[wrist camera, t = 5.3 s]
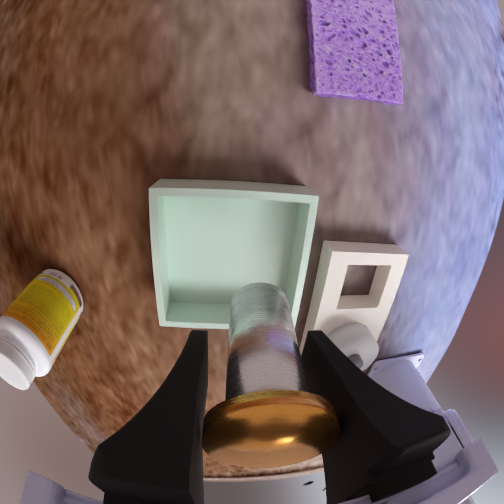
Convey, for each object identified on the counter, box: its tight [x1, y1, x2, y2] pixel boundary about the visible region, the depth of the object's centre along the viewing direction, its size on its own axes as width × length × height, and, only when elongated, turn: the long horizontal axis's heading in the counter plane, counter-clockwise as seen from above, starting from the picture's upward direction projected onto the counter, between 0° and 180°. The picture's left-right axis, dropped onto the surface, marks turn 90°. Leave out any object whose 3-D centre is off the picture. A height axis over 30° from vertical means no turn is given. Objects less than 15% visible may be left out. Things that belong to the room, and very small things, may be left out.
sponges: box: [305, 0, 403, 105], centre depth 13 cm, size 7×13×2 cm, turn 1°
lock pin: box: [202, 283, 341, 468], centre depth 11 cm, size 4×4×8 cm
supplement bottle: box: [0, 269, 83, 390], centre depth 16 cm, size 6×6×10 cm
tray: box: [149, 179, 319, 329], centre depth 19 cm, size 10×10×3 cm
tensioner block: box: [299, 240, 409, 371], centre depth 21 cm, size 12×7×5 cm, turn 175°
